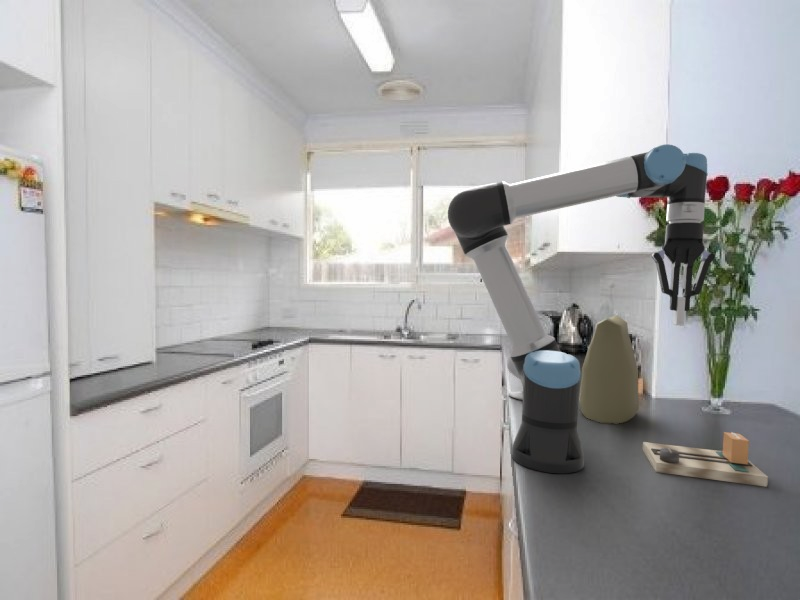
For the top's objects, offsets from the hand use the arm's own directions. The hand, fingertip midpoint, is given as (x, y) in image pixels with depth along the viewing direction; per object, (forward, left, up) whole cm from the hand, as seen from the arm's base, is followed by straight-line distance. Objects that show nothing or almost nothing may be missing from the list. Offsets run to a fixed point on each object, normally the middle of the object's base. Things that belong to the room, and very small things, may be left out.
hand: (678, 324), depth 112 cm
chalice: (-34, +43, -31) cm, 63 cm away
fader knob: (+11, -7, -28) cm, 31 cm away
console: (+4, -7, -30) cm, 31 cm away
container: (-10, +32, -31) cm, 45 cm away
